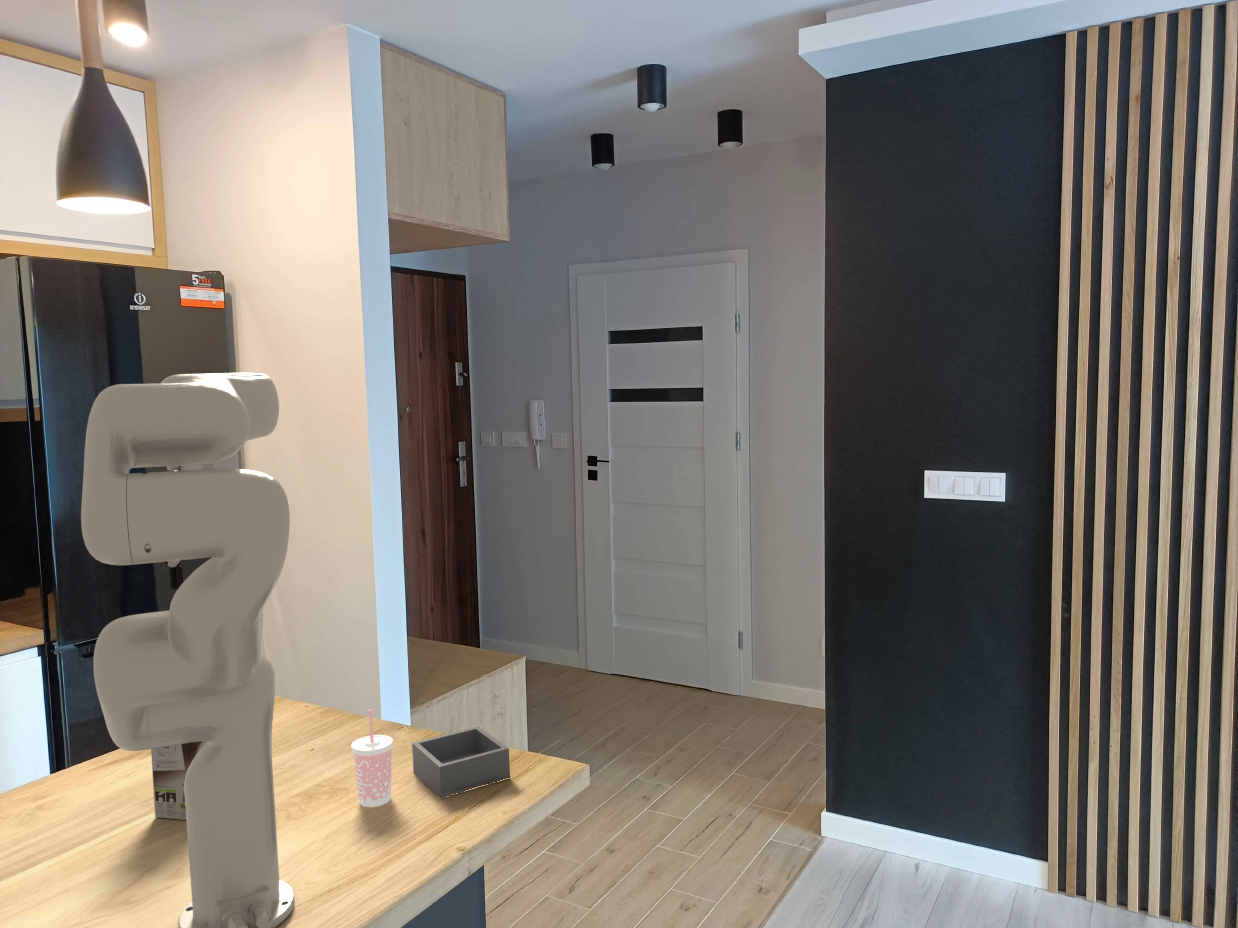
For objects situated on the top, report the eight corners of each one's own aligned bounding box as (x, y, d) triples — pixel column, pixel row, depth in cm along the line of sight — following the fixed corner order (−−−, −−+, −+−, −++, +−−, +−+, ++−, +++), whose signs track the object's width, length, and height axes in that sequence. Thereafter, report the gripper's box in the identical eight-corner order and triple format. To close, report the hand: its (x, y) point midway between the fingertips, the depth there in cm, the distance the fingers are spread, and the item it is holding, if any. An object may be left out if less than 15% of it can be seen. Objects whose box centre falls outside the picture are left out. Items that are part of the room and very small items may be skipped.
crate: (510, 778, 140) (508, 748, 139) (440, 798, 133) (439, 766, 133) (479, 754, 150) (478, 726, 149) (413, 772, 143) (412, 742, 143)
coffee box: (192, 821, 129) (184, 713, 127) (153, 818, 130) (145, 711, 129) (231, 793, 138) (225, 692, 136) (195, 790, 139) (188, 690, 138)
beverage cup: (348, 798, 134) (343, 709, 133) (386, 787, 138) (381, 699, 137) (363, 813, 130) (358, 720, 128) (402, 800, 133) (398, 710, 132)
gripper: (142, 473, 114) (152, 603, 115) (281, 463, 124) (288, 583, 125) (134, 469, 120) (143, 593, 121) (267, 460, 130) (274, 575, 131)
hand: (217, 588), depth 123 cm, fingers open, 9 cm apart
